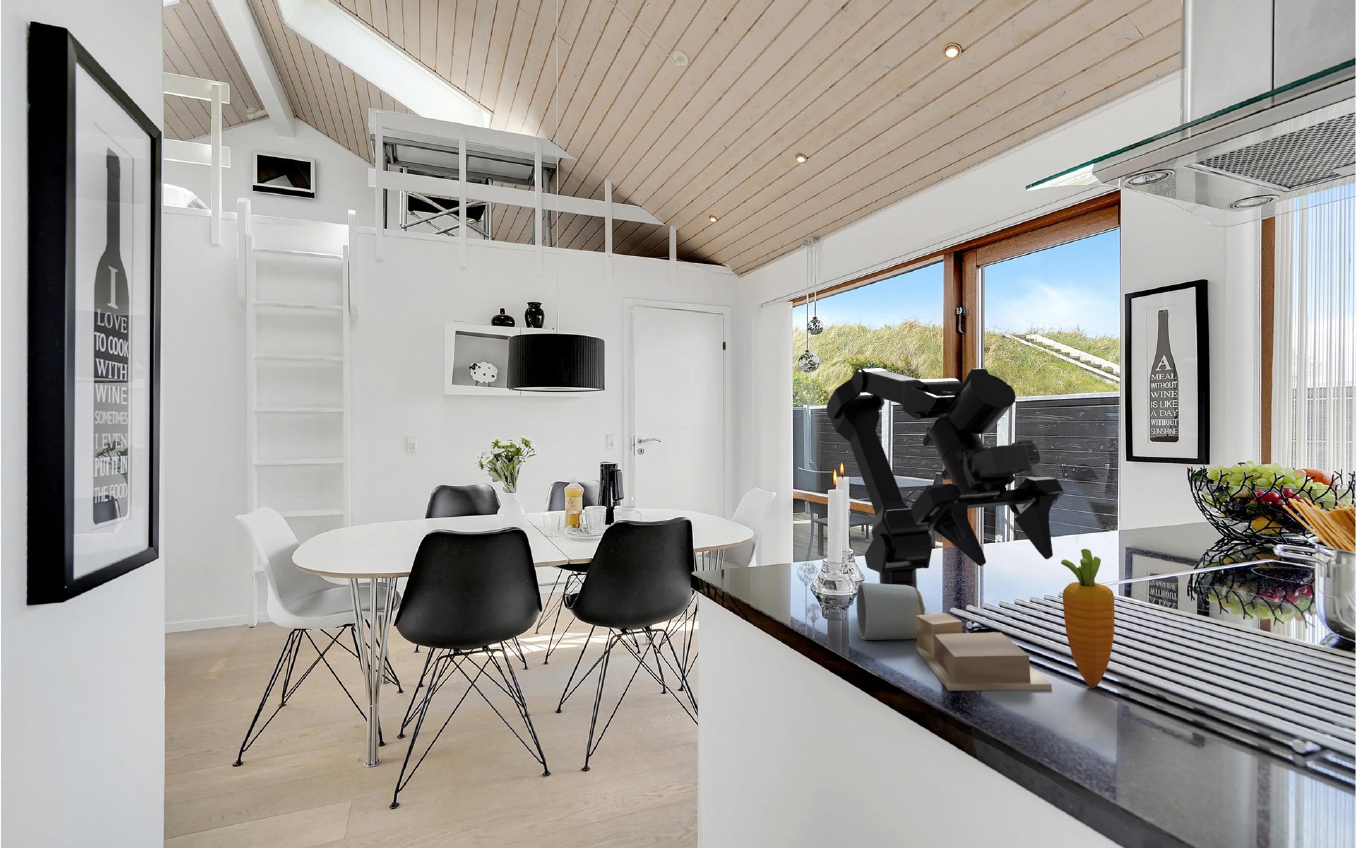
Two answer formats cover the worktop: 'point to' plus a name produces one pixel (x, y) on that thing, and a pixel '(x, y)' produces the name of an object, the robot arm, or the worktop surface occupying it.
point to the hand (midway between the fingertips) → (1016, 561)
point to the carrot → (1089, 619)
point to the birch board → (1035, 679)
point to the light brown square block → (981, 658)
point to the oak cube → (935, 629)
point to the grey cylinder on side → (888, 611)
